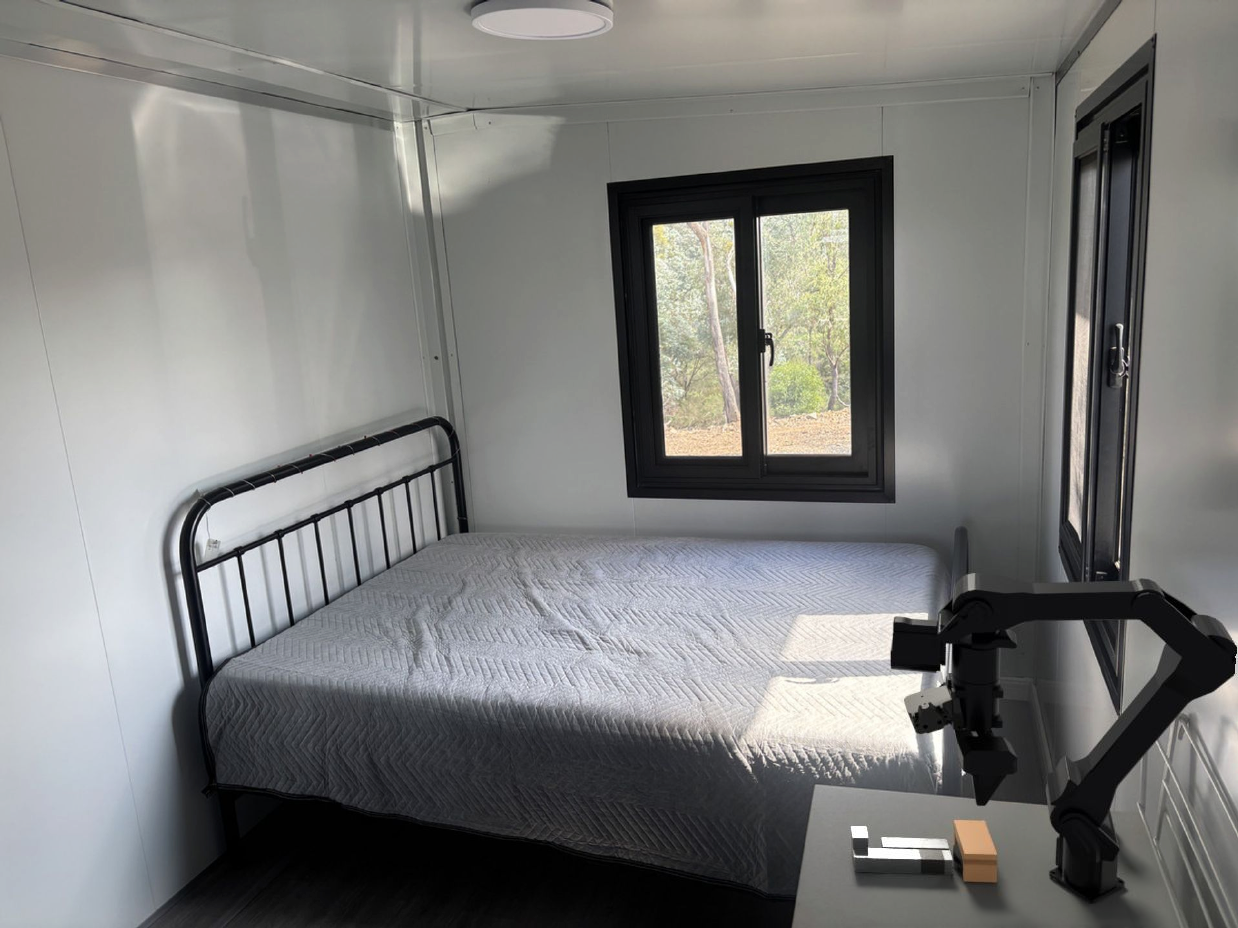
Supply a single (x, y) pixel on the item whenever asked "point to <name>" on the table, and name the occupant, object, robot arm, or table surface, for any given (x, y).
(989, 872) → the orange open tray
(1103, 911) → the table surface
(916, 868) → the arm
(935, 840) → the tongs fixed
